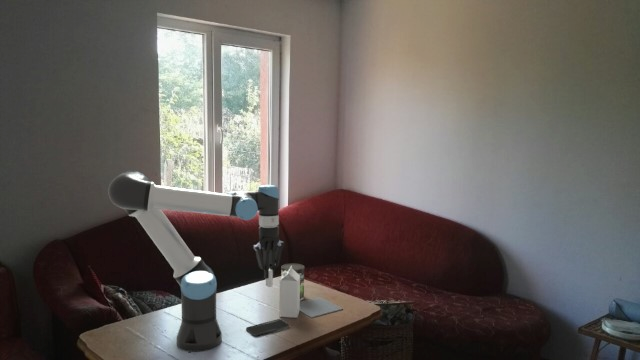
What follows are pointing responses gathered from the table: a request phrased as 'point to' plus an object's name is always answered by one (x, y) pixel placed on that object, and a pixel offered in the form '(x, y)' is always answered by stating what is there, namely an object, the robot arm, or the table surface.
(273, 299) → the table surface
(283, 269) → the coffee can
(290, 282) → the milk carton
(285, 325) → the phone
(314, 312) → the mat
